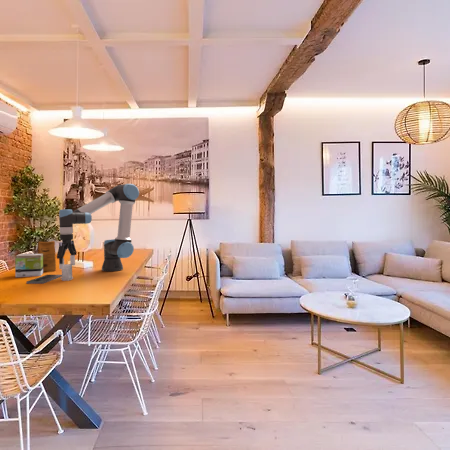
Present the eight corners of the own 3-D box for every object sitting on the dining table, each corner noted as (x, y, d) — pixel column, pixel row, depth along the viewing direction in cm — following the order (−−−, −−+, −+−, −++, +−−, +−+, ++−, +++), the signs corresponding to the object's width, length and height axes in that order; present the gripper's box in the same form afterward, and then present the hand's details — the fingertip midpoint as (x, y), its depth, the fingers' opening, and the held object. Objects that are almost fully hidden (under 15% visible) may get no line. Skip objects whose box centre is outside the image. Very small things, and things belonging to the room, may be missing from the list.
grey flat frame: (47, 276, 214) (47, 274, 214) (62, 276, 214) (62, 274, 214) (26, 284, 192) (26, 281, 192) (42, 284, 192) (42, 281, 192)
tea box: (15, 277, 210) (14, 255, 209) (18, 275, 219) (18, 253, 219) (41, 276, 215) (40, 254, 215) (43, 273, 225) (43, 252, 224)
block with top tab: (63, 279, 205) (63, 264, 204) (74, 279, 205) (74, 264, 204) (59, 281, 200) (59, 265, 200) (71, 281, 200) (70, 265, 200)
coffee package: (35, 270, 236) (35, 241, 235) (54, 269, 243) (54, 240, 242) (37, 272, 228) (36, 242, 227) (56, 271, 235) (56, 241, 234)
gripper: (70, 232, 214) (71, 263, 215) (49, 235, 189) (50, 270, 190) (81, 232, 214) (82, 263, 215) (62, 235, 189) (63, 270, 190)
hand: (67, 267), depth 203 cm, fingers open, 13 cm apart
